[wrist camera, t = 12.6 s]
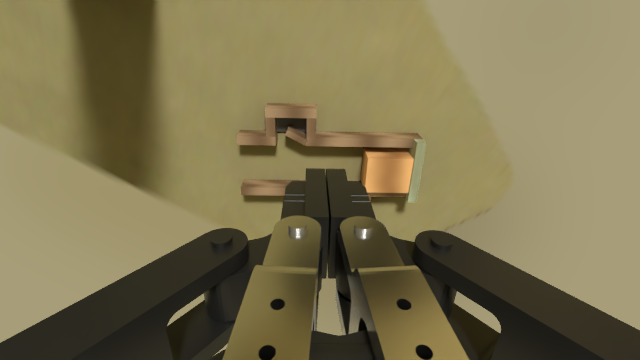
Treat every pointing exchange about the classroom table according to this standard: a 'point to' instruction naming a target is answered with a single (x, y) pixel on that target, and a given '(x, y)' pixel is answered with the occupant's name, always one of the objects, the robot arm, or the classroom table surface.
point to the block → (386, 170)
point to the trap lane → (304, 120)
